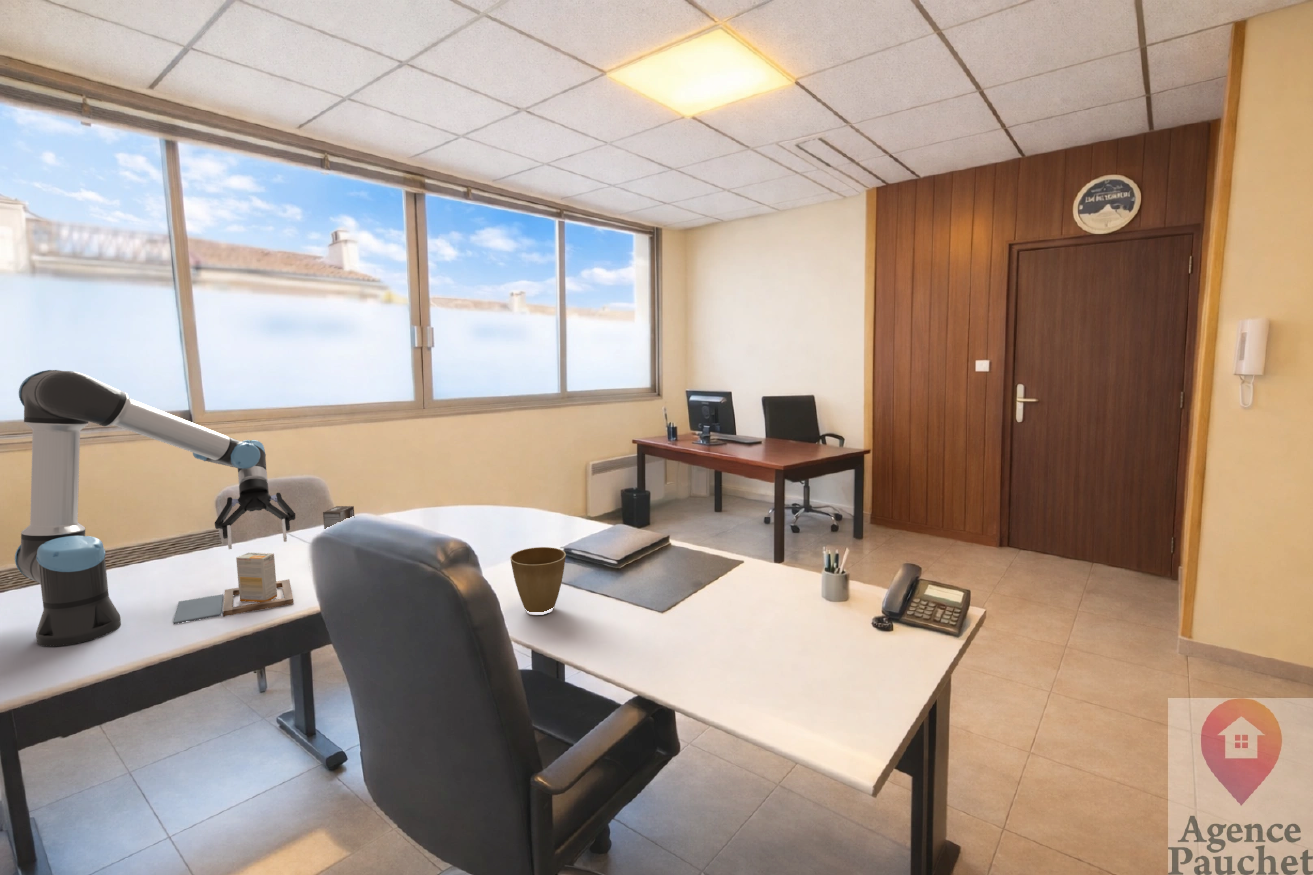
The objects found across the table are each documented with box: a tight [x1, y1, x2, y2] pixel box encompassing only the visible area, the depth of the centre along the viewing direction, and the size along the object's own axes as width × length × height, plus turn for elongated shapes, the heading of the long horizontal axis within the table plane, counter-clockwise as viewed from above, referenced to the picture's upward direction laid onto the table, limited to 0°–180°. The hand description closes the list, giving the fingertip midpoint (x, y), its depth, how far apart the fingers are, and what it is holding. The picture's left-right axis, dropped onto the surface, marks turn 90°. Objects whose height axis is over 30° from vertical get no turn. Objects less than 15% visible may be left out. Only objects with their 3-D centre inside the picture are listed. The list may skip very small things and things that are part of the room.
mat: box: [172, 593, 224, 625], centre depth 163 cm, size 10×16×1 cm, turn 34°
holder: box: [222, 578, 294, 617], centre depth 171 cm, size 16×18×2 cm
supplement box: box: [235, 552, 278, 603], centre depth 170 cm, size 8×5×13 cm, turn 84°
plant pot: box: [509, 546, 567, 612], centre depth 165 cm, size 15×15×16 cm
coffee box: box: [322, 505, 355, 530], centre depth 212 cm, size 9×6×16 cm
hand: (258, 543), depth 177 cm, fingers open, 13 cm apart
